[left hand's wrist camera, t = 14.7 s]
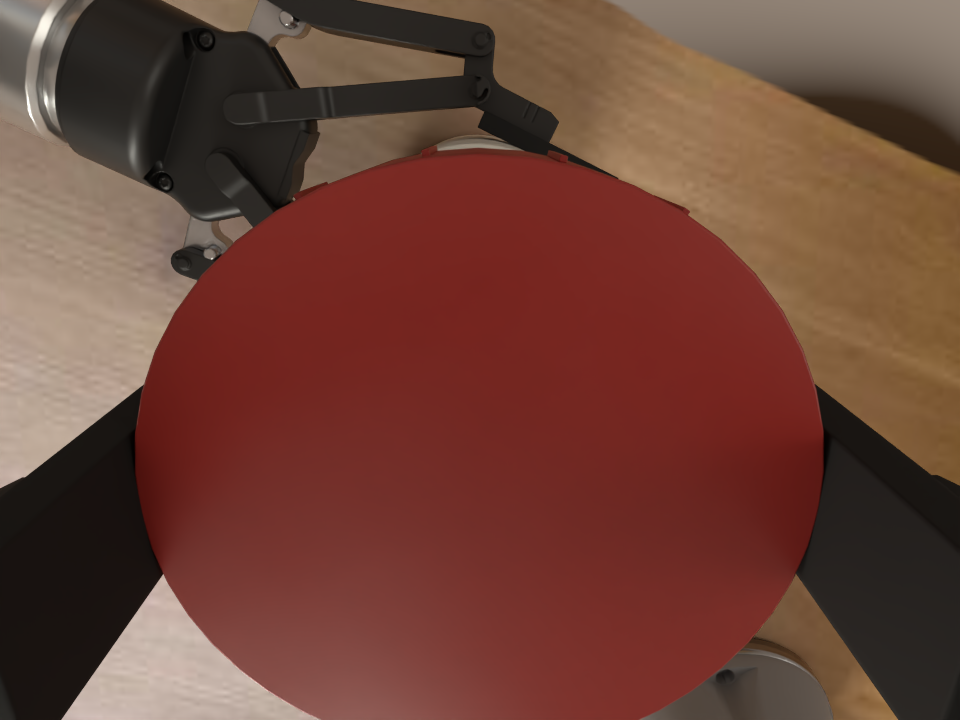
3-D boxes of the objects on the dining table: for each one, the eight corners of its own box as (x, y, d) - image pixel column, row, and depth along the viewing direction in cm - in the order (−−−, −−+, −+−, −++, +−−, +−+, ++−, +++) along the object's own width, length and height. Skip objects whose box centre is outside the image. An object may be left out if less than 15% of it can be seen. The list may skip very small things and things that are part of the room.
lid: (609, 713, 15) (632, 816, 12) (139, 566, 13) (72, 653, 11) (881, 295, 11) (979, 336, 9) (283, 32, 10) (226, 5, 8)
